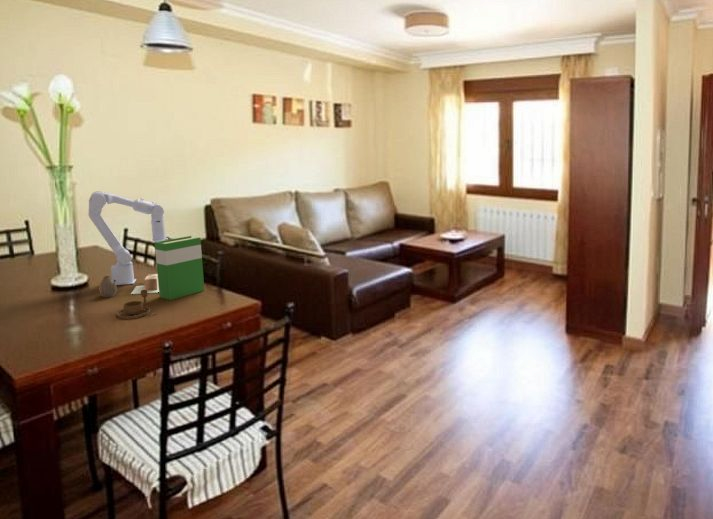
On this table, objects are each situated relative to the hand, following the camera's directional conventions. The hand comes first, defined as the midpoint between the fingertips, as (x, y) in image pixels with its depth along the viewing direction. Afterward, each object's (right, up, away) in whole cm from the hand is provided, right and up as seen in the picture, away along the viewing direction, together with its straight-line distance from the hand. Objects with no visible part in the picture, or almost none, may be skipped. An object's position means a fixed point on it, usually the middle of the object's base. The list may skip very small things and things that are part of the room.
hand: (160, 257), depth 263 cm
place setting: (+9, -22, -47) cm, 52 cm away
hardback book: (+18, -16, -24) cm, 34 cm away
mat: (+2, -14, -17) cm, 22 cm away
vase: (-13, -17, -26) cm, 34 cm away
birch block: (+1, -10, -10) cm, 14 cm away
